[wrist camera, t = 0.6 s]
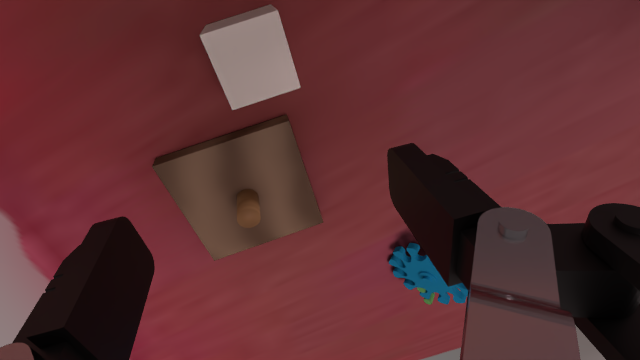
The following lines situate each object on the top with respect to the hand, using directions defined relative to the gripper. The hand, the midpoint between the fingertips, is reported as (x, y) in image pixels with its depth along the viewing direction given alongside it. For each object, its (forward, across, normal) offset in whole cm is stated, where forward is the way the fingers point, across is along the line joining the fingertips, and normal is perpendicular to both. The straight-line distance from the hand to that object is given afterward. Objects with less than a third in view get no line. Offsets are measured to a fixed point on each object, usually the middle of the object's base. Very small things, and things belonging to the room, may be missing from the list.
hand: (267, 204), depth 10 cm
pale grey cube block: (+19, 0, -1) cm, 19 cm away
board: (+19, +4, +11) cm, 22 cm away
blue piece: (+20, -14, +28) cm, 37 cm away
